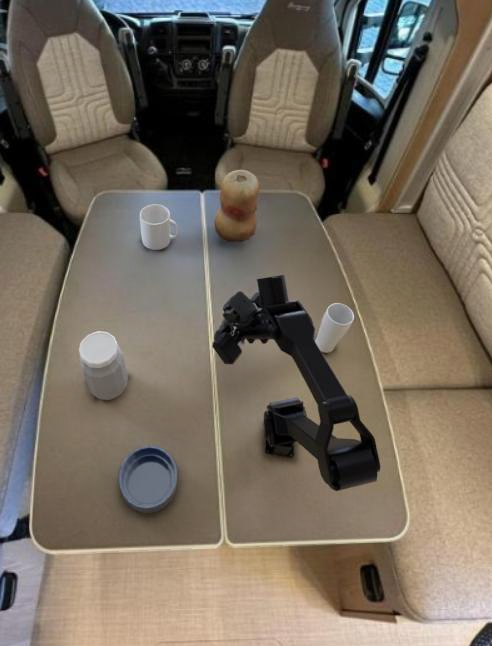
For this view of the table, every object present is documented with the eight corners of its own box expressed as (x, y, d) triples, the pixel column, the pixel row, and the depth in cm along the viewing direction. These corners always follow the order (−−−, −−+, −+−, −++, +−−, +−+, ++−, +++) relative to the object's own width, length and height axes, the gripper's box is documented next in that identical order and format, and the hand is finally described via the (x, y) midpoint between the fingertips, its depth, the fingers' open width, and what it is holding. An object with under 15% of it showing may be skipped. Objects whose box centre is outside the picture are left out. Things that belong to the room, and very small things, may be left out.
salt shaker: (240, 344, 105) (246, 317, 96) (226, 359, 102) (230, 333, 93) (222, 331, 107) (226, 303, 98) (208, 345, 104) (210, 318, 95)
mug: (142, 231, 140) (139, 204, 131) (177, 230, 141) (177, 203, 132) (142, 251, 134) (139, 225, 125) (179, 250, 135) (179, 223, 126)
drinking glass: (308, 349, 112) (323, 318, 101) (315, 330, 116) (330, 298, 105) (332, 360, 110) (350, 329, 99) (339, 340, 114) (357, 309, 103)
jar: (81, 380, 105) (67, 344, 91) (114, 359, 109) (105, 320, 95) (102, 410, 100) (90, 375, 86) (135, 386, 104) (129, 349, 90)
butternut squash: (208, 245, 137) (213, 184, 118) (218, 219, 145) (224, 158, 126) (249, 255, 134) (261, 194, 115) (257, 228, 143) (269, 167, 124)
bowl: (172, 518, 86) (171, 512, 81) (115, 508, 86) (112, 502, 82) (181, 458, 93) (181, 450, 89) (129, 449, 94) (126, 441, 90)
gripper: (271, 269, 90) (226, 278, 103) (223, 325, 81) (179, 327, 93) (296, 309, 93) (249, 312, 106) (252, 367, 84) (205, 364, 96)
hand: (221, 327), depth 100 cm, fingers closed on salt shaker, 3 cm apart
